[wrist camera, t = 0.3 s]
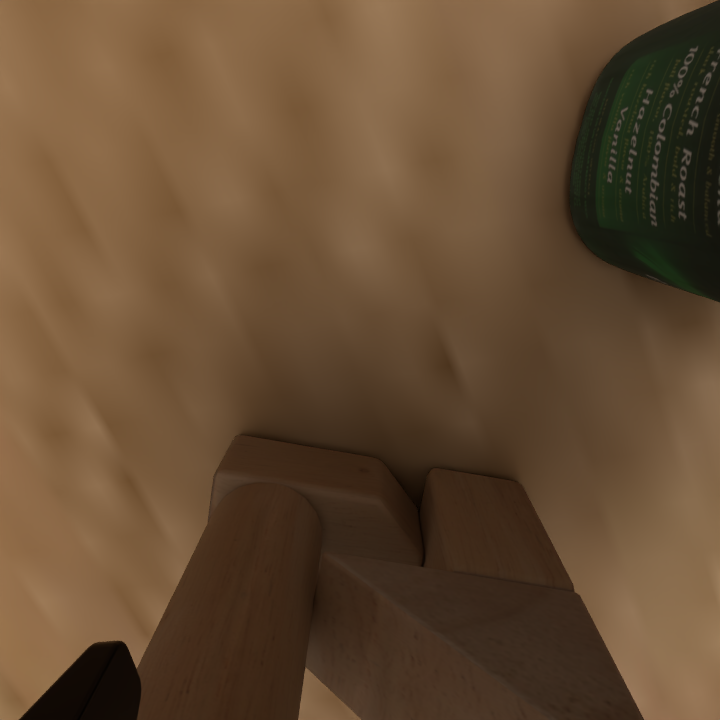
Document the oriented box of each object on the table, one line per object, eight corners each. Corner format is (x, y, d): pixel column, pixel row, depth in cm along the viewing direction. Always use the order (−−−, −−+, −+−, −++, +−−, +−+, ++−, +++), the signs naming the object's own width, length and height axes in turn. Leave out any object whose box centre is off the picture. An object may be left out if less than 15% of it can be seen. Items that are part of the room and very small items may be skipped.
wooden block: (501, 565, 26) (770, 1333, 9) (223, 518, 26) (-90, 1216, 8) (523, 477, 25) (875, 1133, 8) (235, 427, 25) (-85, 994, 7)
